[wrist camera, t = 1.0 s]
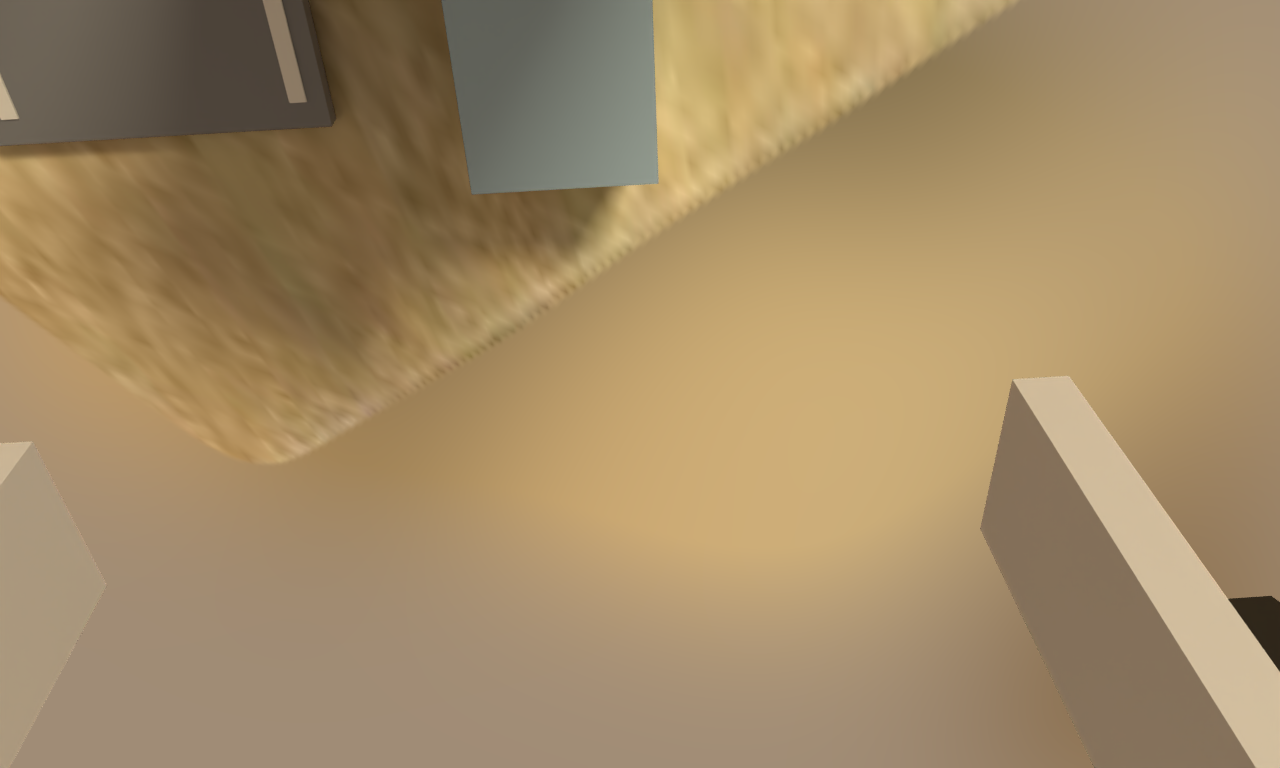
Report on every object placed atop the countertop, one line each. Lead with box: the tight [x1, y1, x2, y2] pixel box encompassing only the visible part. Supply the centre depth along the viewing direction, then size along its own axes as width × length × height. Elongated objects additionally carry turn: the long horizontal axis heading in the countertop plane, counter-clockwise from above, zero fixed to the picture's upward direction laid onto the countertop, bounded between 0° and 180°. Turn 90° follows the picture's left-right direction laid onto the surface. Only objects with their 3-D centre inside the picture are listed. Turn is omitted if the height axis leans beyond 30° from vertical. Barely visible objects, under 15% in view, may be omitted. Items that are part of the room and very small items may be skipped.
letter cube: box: [441, 0, 658, 194], centre depth 27 cm, size 5×5×5 cm
